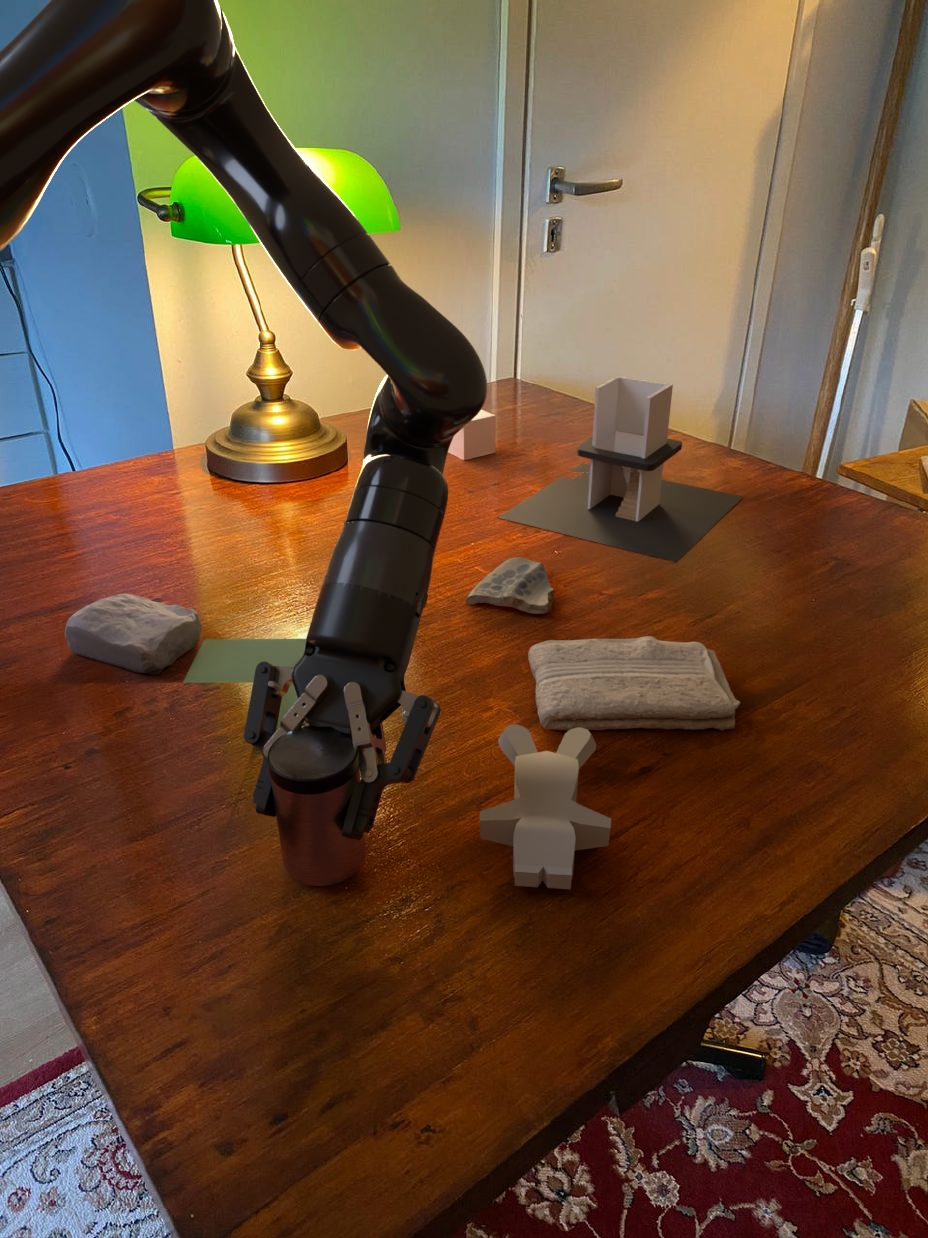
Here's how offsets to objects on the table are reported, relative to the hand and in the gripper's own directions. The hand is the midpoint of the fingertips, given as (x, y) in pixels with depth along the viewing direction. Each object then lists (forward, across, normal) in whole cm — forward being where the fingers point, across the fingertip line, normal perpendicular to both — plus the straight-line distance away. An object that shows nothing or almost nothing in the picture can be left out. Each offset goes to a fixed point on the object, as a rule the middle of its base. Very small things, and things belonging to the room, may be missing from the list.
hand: (308, 825), depth 62 cm
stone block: (-12, -32, +20) cm, 40 cm away
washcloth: (-18, +16, +25) cm, 35 cm away
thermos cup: (+2, 0, +4) cm, 5 cm away
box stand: (-49, +7, +56) cm, 75 cm away
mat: (-11, -15, +18) cm, 26 cm away
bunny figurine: (-4, +14, +11) cm, 18 cm away
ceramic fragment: (-29, +1, +36) cm, 46 cm away
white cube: (-59, -21, +66) cm, 91 cm away
